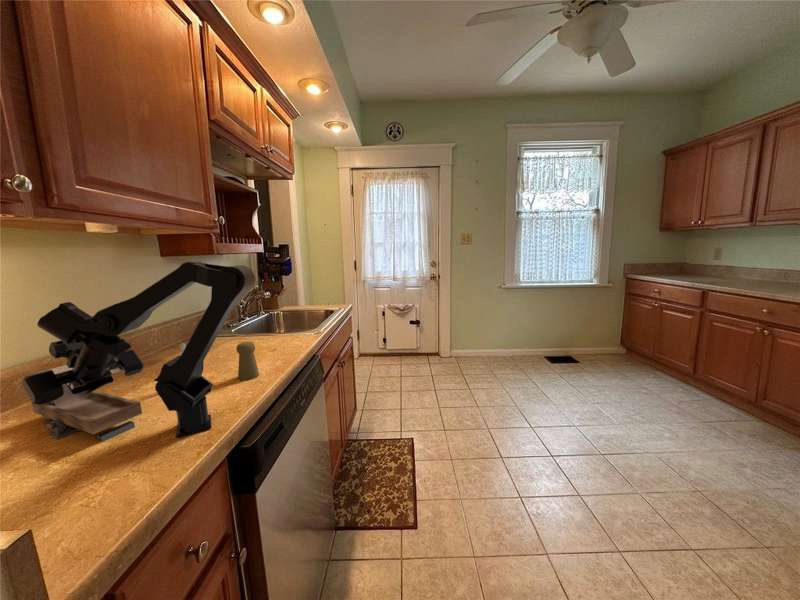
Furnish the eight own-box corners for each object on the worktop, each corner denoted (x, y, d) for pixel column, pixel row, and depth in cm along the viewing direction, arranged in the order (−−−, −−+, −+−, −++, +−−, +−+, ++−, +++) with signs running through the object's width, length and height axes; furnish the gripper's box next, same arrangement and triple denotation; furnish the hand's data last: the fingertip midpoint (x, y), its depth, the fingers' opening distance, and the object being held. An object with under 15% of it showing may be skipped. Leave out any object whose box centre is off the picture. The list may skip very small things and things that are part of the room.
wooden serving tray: (142, 413, 73) (140, 402, 72) (93, 434, 65) (90, 422, 64) (82, 396, 83) (80, 386, 83) (33, 412, 75) (31, 401, 75)
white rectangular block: (89, 397, 79) (83, 366, 77) (55, 408, 73) (48, 375, 72) (76, 394, 81) (70, 363, 80) (43, 404, 76) (36, 372, 74)
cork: (253, 380, 97) (250, 345, 95) (234, 380, 97) (230, 345, 95) (262, 372, 103) (259, 339, 101) (244, 372, 103) (240, 339, 101)
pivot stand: (152, 419, 75) (150, 407, 75) (80, 451, 64) (77, 437, 63) (95, 401, 85) (93, 390, 85) (24, 426, 73) (21, 414, 73)
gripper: (128, 316, 78) (112, 355, 84) (14, 337, 61) (4, 384, 67) (153, 351, 76) (134, 388, 82) (42, 381, 59) (29, 425, 65)
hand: (81, 394), depth 74 cm, fingers closed
